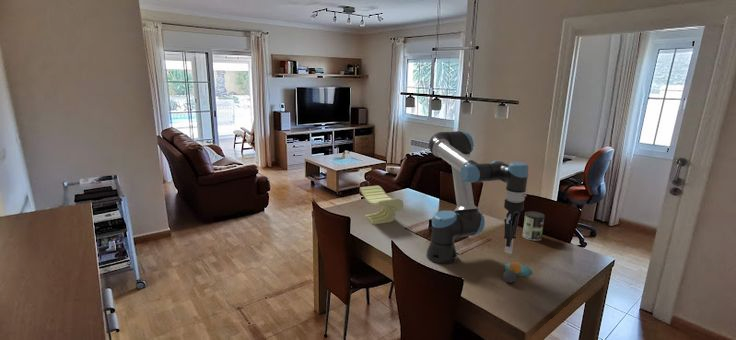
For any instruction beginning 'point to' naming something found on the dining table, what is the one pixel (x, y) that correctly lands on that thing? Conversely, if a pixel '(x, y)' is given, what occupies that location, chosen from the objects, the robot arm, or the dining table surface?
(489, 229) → the dining table surface
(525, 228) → the coffee can
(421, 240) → the dining table surface
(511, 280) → the charcoal ball
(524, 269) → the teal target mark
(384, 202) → the slatted curved stool
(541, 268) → the dining table surface
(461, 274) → the dining table surface
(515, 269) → the orange ball
